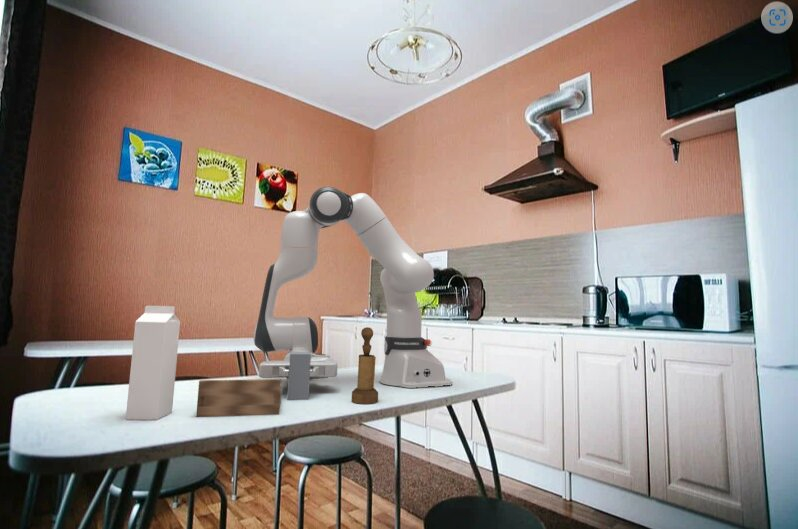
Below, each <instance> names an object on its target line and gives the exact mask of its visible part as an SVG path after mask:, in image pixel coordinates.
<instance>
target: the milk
mask: <svg viewBox="0 0 798 529" xmlns="http://www.w3.org/2000/svg"><path fill="white" fill-rule="evenodd" d="M175 309H176V307H175V306H172V305H146V306H145V307H144V313H143V314H141V316H140V317H138V318H137V319H136V320H135V321H134V322H135V323H134V331H133V333H134V334H133V341H132V342H133V343H132V351H131V352H132V353H131V363H130V364H131V365H130V371H129V372H130V373H129V382H128V392H127V402H126V412H125V413H126V414H125V420H128V421H131V420H132V421H135V420H136V421H140V420H142V421H157V420H160V419H162V418H164V417H165V416H166V417H167V416H168V415H170V414H172V413H173V406H174V396H175V395H174V394H175V384H176V373H177V372H176V371H177V362H178V361H177V360H178V349H179V339H180V338H179V336H180V328H181V327H180V326H181V325H180V324H181V321H180V319H179V318H178V316H176V314H175Z"/></svg>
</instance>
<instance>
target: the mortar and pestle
mask: <svg viewBox="0 0 798 529" xmlns="http://www.w3.org/2000/svg"><path fill="white" fill-rule="evenodd" d="M360 333H361V337H362V339H363V345H362V352H363V354H359V355H358V365H357V366H358V367H357V368H358V369H357V371H358V372H357V385H356V386H357V387H356V388H354V389H353V390H352V391H351V402H352V403H355V404H360V405H373V404H375V403H378V402H379V391H378V390H377V389H376V388H375V387H374V388H373V378H374V379H375V376H374V356H375V355H374V354H371V350H372V345H371V343H370V342H371V341H372V338H373V336H374V330H373V328H371V327H364V328H362V330H361V332H360Z"/></svg>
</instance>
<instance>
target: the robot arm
mask: <svg viewBox="0 0 798 529" xmlns="http://www.w3.org/2000/svg"><path fill="white" fill-rule="evenodd" d="M339 222H344V223H346V224H347V225H348V226H350V227H351V229H352V230H353V232H354V233H355V235H356V236H357V238H358V239H359V241H360V243H361V244H362V246H364V248H365V249H366V251H367V253H368V254H369V255H370V257H371V258H373V259H375V261H377V262H378V263H379V264H380V265H381V266H383V269H382V270H381V273H380V275H379V277H380V278H379V280H380V284H381V286H382V288H383V294H384V298H385V305H386V307H385V308H386V336H384V337H385V338H384V346H383V347H384V348H383V349H384V350H383V351H384V352H383V353H384V362H383V368H382V373H381V377H380V379H379V383H380V384H384V385H387V386H388V385H389V386H395V387H402V388H408V389H417V388H416V387H418V388H429V387H428V386H435V387H444V386H443V385H450V386H452V385H453V381H452V380H451V379H450V378H448V377H446V371H445V366H444V364H443V362H442V361H440V360H439V359H438V358H437V357H436V356H435V355H434V354H433V353H432V352H430V351H429V350H427V349H428V347H431V346H432V344H433V342H432V341H431V339H425V337H422V322H423V321H422V320H423V319H422V318H423V317H422V316H423V314H422V311H421V308H420V307H419V304H418V301H417V296H416V293H419V292H421V291H423V290H425V289H426V288H428V287H429V286H430V285H431V284H432V283H433V280H434V274H435V273H434V268H433V266H432V264H431V263H430V262H429V261H428V260H427V259H424V258H423V257H421V256H420V255H419V254H417V252H415V250H414V249H413V248H412V247H410V245H408V243H407V242H406V241H405V240H404V239H403V238H402V237H401V235H399V233H398V232H397V230H396V228H394V226H393V224H392V223H391V221H390V220H389V219H388V217H387V216H386V214H385V213H384V211H383V210H382V209H381V207H380V206H379V205H378V204H377V202H376V201H375V200H374V199H373V198H372V197H371V196H370V195H368V194H367V193H365V192H359V193H355V194H353V195H350V194H347V193H345V192H343V191H342V190H340V189H338V188H335V187H332V186H323V187H320V188H318V189H316V190H315V191H314V192H313V194H311V196H310V199H309V202H308V206H307V208H306V209H304V210H295V211H291V212H289V213H287V214H286V215H285V217H284V219H283V223H282V228H281V233H280V234H281V236H280V251H279V256H278V258H277V260H276V262H275V263H273V264H271V265H270V266H269V269H268V270H267V275H266V277H265V278H266V279H265V283H264V288H263V291H262V292H263V293H262V298H261V303H260V308H259V314H258V320H257V321H256V325H255V327H254V330H253V342H254V346H255V347H257V349H258V350H260V351H262V352H263V353H270V352H276V351H288V352H286V354H285V356H284V358H283V360H267V361H265V360H264V361H262V362H261V363H260V364H259V368H258V377H259V378H260V379H272V378H273V379H286V380H288V381H289V363H290V352H310V354H311V358H310V377H309V381H312V380H319V379H321V380H322V379H328V378H337V376H338V362H337V361H336V360H335V359H334V358H331V355H330V354H324V353H318V352H317V353H316V351H317V350H318V348H319V347H318V346H319V332H318V327H317V324H316V322H315V321H314V320H313V319H312V318H311V317H310V316H308V317H307V316H303V317H302V316H297V317H296V316H295V317H275V316H274V310H275V306H276V302H277V301H276V300H277V296H278V295H277V294H278V293H279V289H280V288H281V287H283V285H285V284H287V283H289V282H292V281H295V280H297V279H301V278H303V277H305V276H306V275H309V274H310V273H311V272H312V271H313V270H314V269H315V268H316V266H317V263H318V257H319V256H318V255H319V234H320V231H321V230H322V229H326V228H329V227H332V226H334V225H336V224H339ZM451 384H452V385H451Z"/></svg>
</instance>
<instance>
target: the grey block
mask: <svg viewBox="0 0 798 529" xmlns="http://www.w3.org/2000/svg"><path fill="white" fill-rule="evenodd" d="M310 358H311V354H310V352H290V363H289V380H288V383H287V384H288V385H287V401H302V400H303V401H304V400H305V401H306V400H309V395H310V394H309V392H310V380H309V377H310Z"/></svg>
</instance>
